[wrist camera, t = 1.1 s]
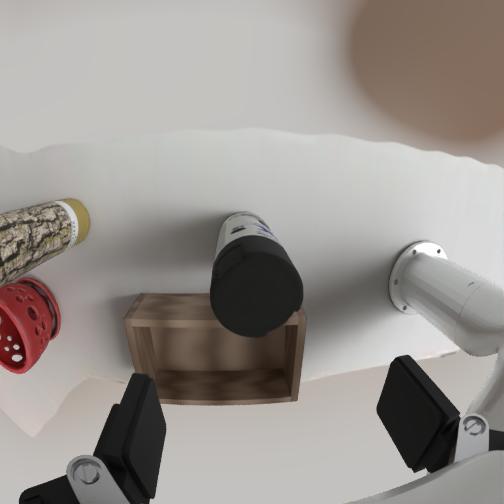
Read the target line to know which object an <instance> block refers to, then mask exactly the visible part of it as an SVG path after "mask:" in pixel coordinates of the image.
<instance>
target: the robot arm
mask: <svg viewBox="0 0 504 504" xmlns="http://www.w3.org/2000/svg"><path fill="white" fill-rule="evenodd" d="M389 292H390V297H391V300H392V302H393V303H394V305H395V306H396V307H397V308H398V309H399V310H400V311H402V312H403V313H406V314H418V313H419V314H420V315H421V316H423V317H424V318H425V319H426V320H427V321H429V322H430V323H431V324H432V325H434V326H435V327H436V328H437V329H438V330H439V331H441V332H442V333H443V334H444V335H445V336H447V337H448V338H449V339H450V340H451V341H452V342H454V343H455V344H456V345H457V346H458V347H460V348H461V349H462V350H463V351H465V352H466V353H467V354H469V355H472V356H477V357H482V356H488V355H492V354H495V353H498V357H497V360H496V362H495V364H494V366H493V368H492V371H491V373H490V374H489V376H488V377H487V379H486V381H485V383H484V384H483V386H482V387H481V389H480V391H479V392H478V394H477V395H476V397H475V399H474V400H473V402H472V403H471V405H470V407H469V408H468V410H467V412H466V414H465V415H464V416H463V417H462V418H460V417H459V415H460V412H459V411H458V410H457V409H456V407H455V406H454V405H453V404H452V403H451V402H450V400H449V399H448V398H447V397H446V396H445V395H444V393H443V392H442V391H441V390H440V389H439V388H438V387H437V385H436V384H435V383H434V382H433V381H432V380H431V379H430V378H429V376H428V375H427V374H426V373H425V372H424V371H423V370H422V369H421V367H420V366H419V365H418V364H417V363H416V362H415V361H414V360H413V359H412V357H411V356H409V355H404V356H399V357H396V358H395V359H394V361H392V362H391V364H390V368H389V371H388V375H387V378H386V381H385V384H384V387H383V390H382V393H381V396H380V399H379V402H378V404H377V414H378V416H379V417H380V419H381V421H382V423H383V425H384V426H385V428H386V430H387V431H388V433H389V435H390V437H391V438H392V440H393V442H394V444H395V445H396V447H397V449H398V451H399V452H400V454H401V456H402V458H403V460H404V461H405V463H406V465H407V467H408V468H412V470H413V472H414V473H416V472H418V471H420V470H423V469H425V467H426V469H427V471H428V472H427V475H426V476H425V477H422V478H420V479H417V480H415V481H413V482H410V483H408V484H405V485H403V486H400V487H397V488H394V489H392V490H389V491H386V492H383V493H380V494H377V495H374V496H370V497H367V498H364V499H360V500H357V501H354V502H349V503H345V504H504V287H502V286H500V285H498V284H496V283H494V282H492V281H490V280H488V279H486V278H484V277H482V276H480V275H478V274H476V273H474V272H472V271H470V270H468V269H466V268H464V267H462V266H460V265H458V264H456V263H453V262H451V261H449V260H447V256H446V254H445V252H444V251H443V249H442V248H441V247H440V246H438V245H437V244H435V243H432V242H429V241H421V242H417V243H415V244H413V245H411V246H410V247H409V248H407V249H406V250H405V251H404V252H403V253H402V254H401V255H400V257H399V258H398V260H397V261H396V263H395V265H394V267H393V270H392V273H391V276H390V282H389ZM165 435H166V423H165V419H164V416H163V412H162V408H161V405H160V401H159V397H158V393H157V389H156V385H155V381H154V379H153V378H150V377H149V375H148V374H141V373H133V374H132V376H131V378H130V381H129V383H128V386H127V388H126V391H125V393H124V395H123V398H122V400H121V403H120V404H114V405H113V406H112V408H111V411H110V413H109V416H108V418H107V421H106V423H105V426H104V428H103V431H102V433H101V435H100V438H99V440H98V443H97V446H96V448H95V451H94V454H93V456H91V455H82V456H78V457H76V458H74V459H72V461H70V462H69V464H68V466H67V470H66V473H67V475H64V476H62V477H59V478H56V479H54V480H51V481H48V482H46V483H43V484H40V485H37V486H34V487H31V488H28V489H26V490H25V491H24V492H23V493H22V494H21V495H20V498H19V504H149V501H150V499H154V497H155V493H156V487H157V480H158V474H159V468H160V462H161V457H162V451H163V446H164V440H165Z"/></svg>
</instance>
